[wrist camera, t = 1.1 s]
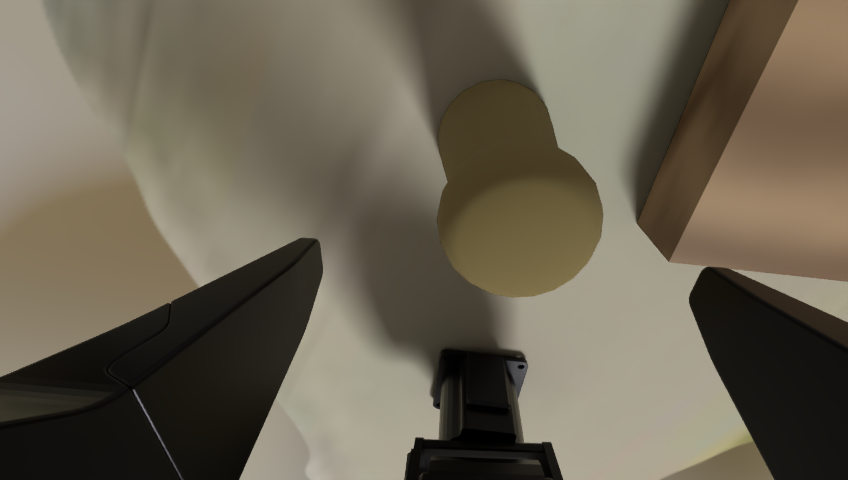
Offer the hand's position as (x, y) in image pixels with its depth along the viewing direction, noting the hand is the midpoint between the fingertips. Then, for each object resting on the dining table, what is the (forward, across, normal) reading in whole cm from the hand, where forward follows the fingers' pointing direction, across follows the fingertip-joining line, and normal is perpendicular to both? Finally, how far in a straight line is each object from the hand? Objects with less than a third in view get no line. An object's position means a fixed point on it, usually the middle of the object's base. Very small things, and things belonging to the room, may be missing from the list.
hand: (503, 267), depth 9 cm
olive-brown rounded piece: (+13, -1, +1) cm, 13 cm away
